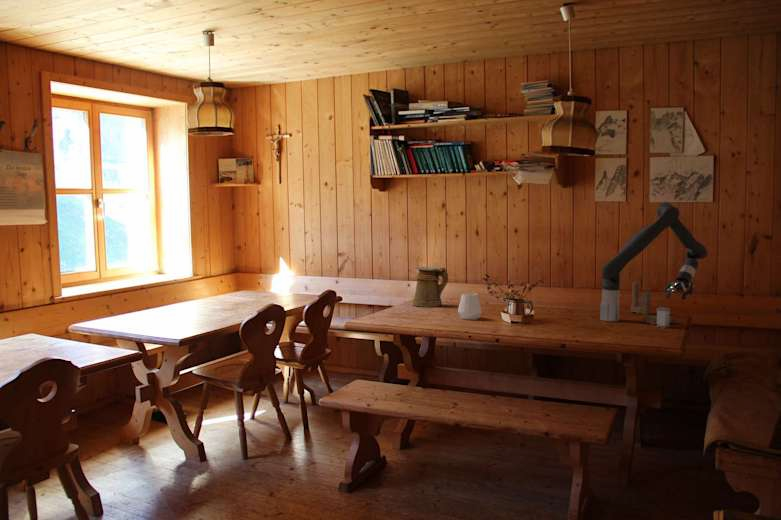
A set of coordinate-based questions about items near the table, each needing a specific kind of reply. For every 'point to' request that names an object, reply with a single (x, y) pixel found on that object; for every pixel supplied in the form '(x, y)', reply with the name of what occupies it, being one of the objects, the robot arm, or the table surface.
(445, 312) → the table surface
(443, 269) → the tankard
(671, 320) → the stand
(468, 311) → the cup
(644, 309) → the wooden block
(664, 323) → the housing
